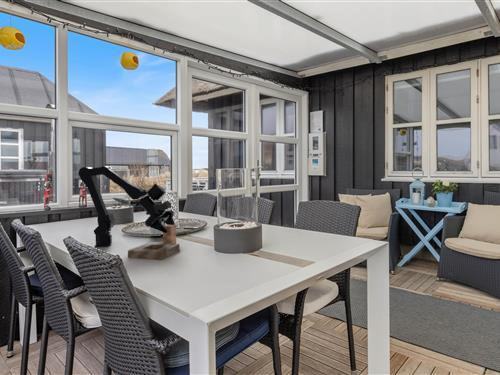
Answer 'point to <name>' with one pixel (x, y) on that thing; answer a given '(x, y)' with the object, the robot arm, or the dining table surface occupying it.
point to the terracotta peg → (170, 234)
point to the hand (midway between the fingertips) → (171, 230)
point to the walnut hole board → (153, 250)
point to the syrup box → (156, 229)
